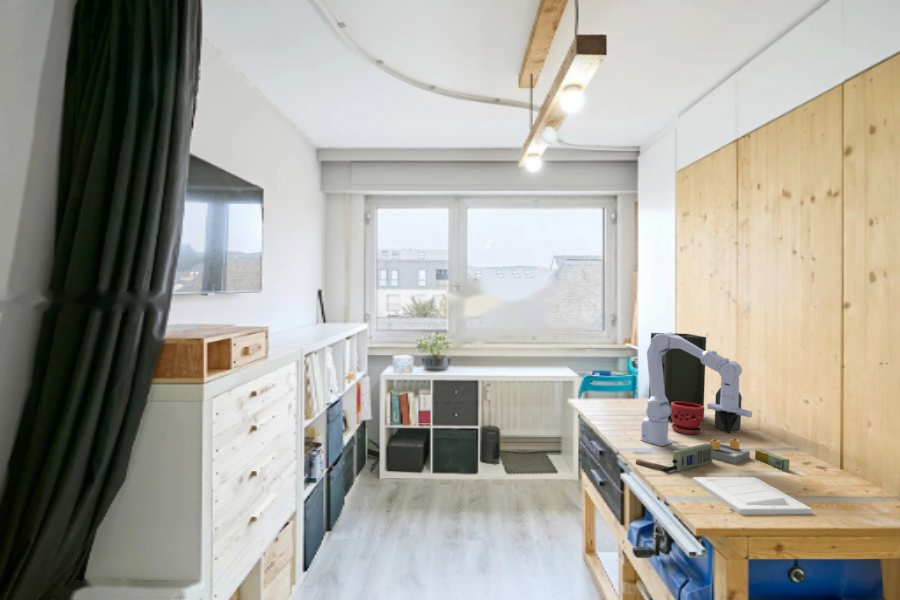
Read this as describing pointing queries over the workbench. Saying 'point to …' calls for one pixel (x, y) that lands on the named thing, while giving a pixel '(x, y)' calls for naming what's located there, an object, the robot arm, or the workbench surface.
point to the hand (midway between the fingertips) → (728, 432)
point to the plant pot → (687, 417)
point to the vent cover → (751, 496)
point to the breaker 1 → (715, 444)
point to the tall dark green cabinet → (683, 373)
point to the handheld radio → (691, 457)
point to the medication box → (772, 460)
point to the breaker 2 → (735, 444)
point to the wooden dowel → (650, 464)
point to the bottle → (718, 420)
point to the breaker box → (730, 454)
